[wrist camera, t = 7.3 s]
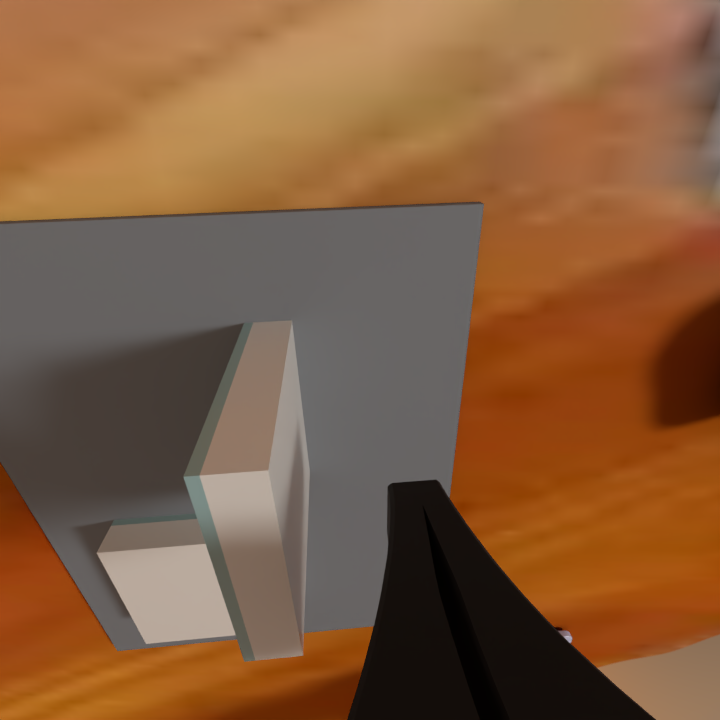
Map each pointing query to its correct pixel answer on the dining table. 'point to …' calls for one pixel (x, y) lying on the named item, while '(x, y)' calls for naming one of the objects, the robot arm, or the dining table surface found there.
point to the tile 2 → (257, 491)
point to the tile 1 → (166, 578)
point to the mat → (208, 364)
